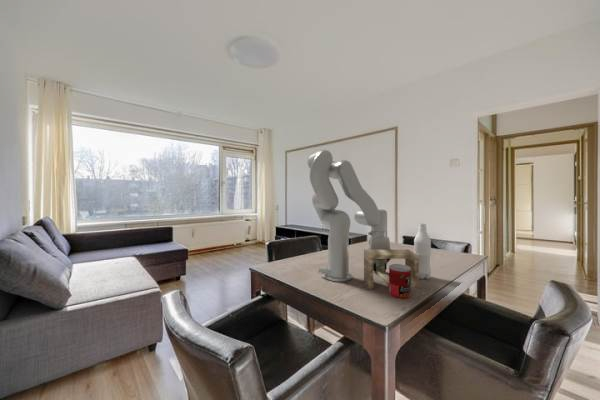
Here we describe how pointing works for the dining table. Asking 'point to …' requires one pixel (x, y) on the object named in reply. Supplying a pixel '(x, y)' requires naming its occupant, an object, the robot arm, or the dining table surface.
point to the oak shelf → (408, 255)
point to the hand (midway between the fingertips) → (379, 270)
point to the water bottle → (423, 251)
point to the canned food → (400, 281)
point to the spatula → (381, 270)
